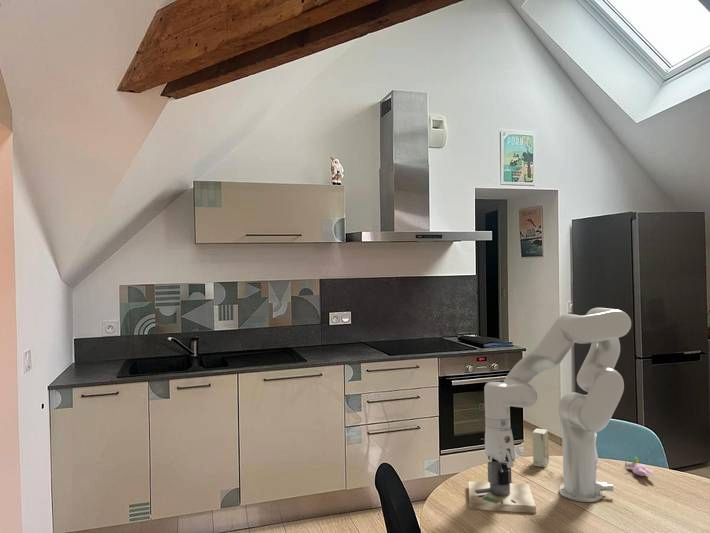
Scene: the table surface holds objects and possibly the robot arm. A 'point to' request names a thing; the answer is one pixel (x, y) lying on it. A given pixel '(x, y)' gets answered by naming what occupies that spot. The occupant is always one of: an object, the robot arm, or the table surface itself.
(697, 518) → the table surface
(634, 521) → the table surface
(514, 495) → the dial board
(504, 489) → the knob
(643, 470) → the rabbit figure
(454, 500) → the table surface
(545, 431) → the skincare box
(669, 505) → the table surface
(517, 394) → the robot arm
